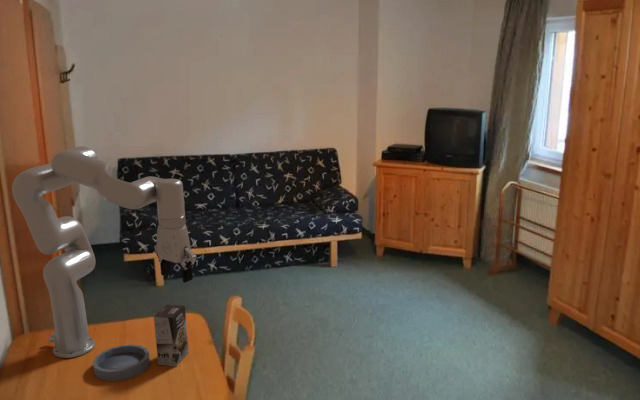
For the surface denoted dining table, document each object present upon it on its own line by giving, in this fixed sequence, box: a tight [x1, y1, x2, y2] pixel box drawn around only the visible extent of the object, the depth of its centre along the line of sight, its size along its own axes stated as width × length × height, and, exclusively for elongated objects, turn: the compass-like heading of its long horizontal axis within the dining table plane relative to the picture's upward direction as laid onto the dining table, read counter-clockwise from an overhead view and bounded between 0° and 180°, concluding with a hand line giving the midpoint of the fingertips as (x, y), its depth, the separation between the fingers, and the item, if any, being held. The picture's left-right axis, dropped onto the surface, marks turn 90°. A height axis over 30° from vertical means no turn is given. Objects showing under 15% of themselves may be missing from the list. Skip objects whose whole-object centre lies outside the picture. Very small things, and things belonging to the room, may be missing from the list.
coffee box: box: [153, 304, 190, 367], centre depth 174 cm, size 9×6×16 cm
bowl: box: [92, 343, 151, 382], centre depth 172 cm, size 16×16×3 cm
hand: (176, 277), depth 168 cm, fingers open, 9 cm apart
